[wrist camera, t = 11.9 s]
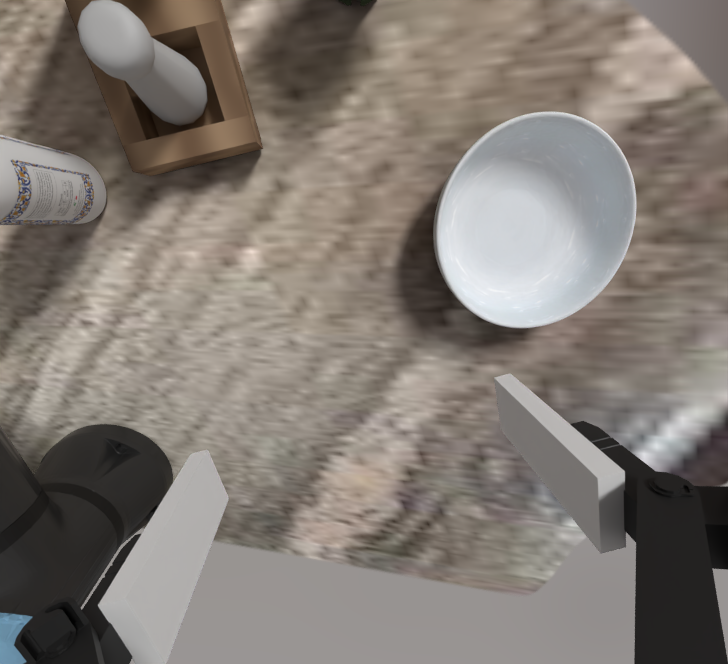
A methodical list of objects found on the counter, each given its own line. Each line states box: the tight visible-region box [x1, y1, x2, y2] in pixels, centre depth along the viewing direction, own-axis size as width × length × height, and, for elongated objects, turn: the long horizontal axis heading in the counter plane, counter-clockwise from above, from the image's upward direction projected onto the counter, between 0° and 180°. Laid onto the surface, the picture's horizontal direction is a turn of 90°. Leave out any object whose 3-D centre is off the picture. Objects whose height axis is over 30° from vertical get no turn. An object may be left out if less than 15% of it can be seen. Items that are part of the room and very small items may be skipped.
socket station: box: [65, 0, 263, 176], centre depth 27 cm, size 12×17×17 cm
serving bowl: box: [433, 112, 636, 328], centre depth 39 cm, size 21×21×7 cm
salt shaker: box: [77, 0, 208, 126], centre depth 30 cm, size 6×6×13 cm
